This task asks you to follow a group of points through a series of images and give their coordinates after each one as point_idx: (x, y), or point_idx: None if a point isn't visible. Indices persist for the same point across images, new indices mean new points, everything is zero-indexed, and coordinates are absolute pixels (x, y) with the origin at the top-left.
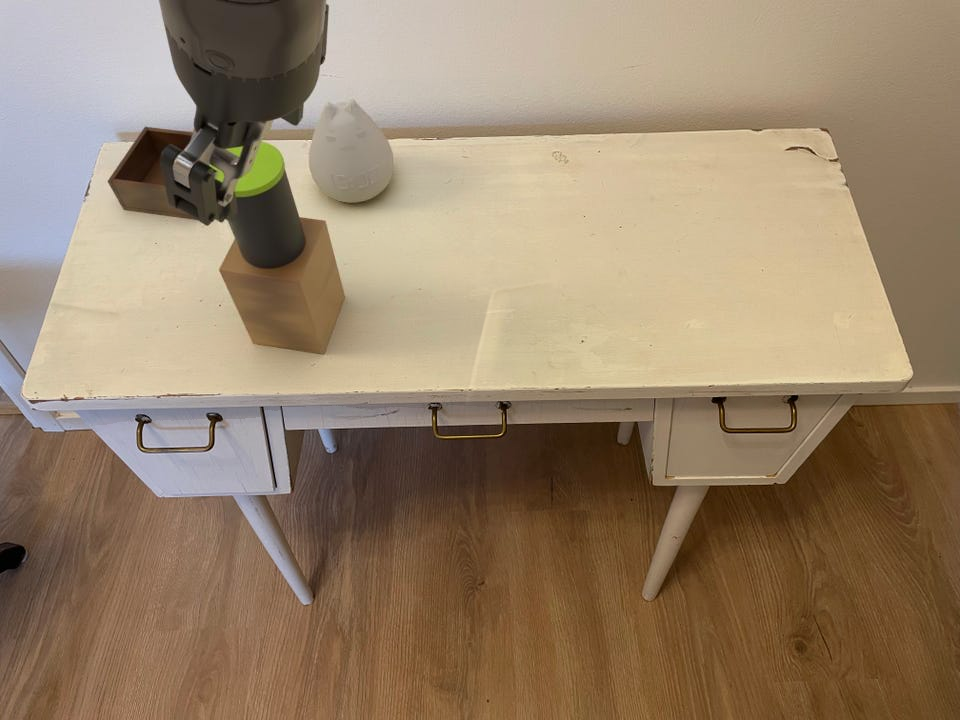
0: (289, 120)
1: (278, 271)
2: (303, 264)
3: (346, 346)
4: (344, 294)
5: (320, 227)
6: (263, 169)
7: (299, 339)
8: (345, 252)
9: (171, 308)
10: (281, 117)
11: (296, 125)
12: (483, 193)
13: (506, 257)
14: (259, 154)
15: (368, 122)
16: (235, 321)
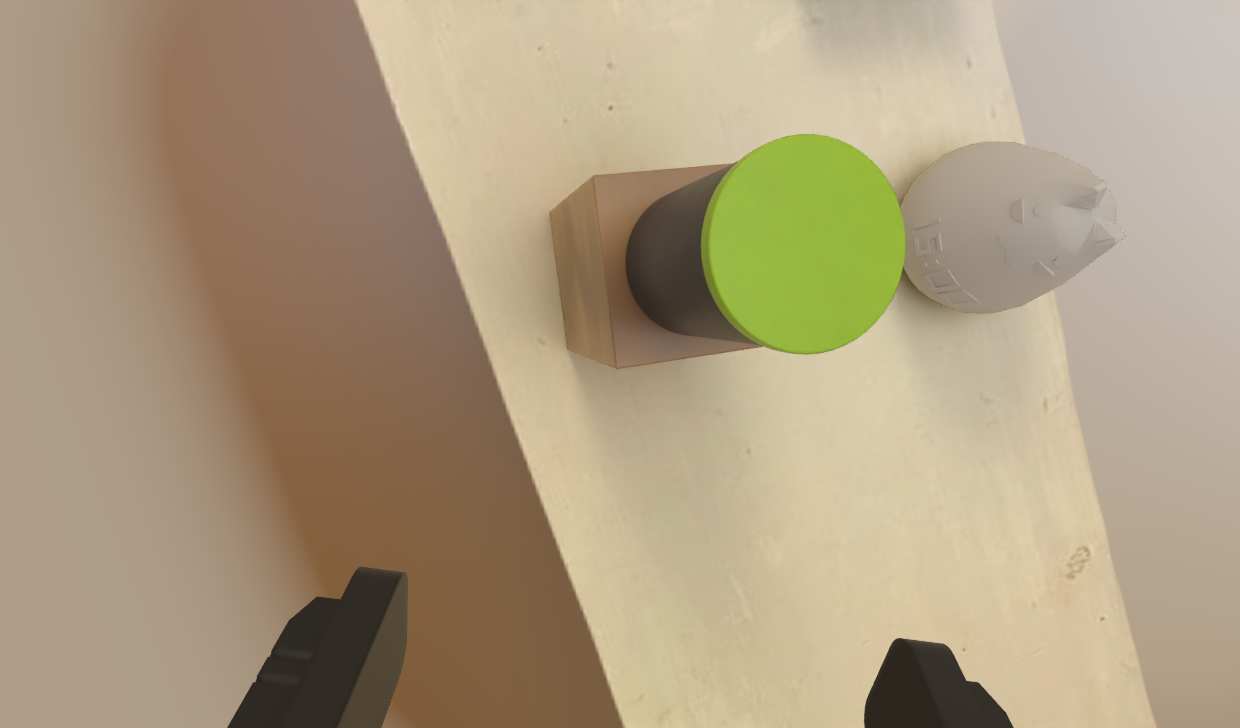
0: (876, 707)
1: (628, 310)
2: (662, 354)
3: (596, 380)
4: None
5: None
6: (808, 306)
7: (569, 312)
8: None
9: (575, 14)
10: (883, 671)
11: (865, 722)
12: (974, 469)
13: (851, 563)
14: (858, 264)
15: (1074, 271)
16: (585, 155)
